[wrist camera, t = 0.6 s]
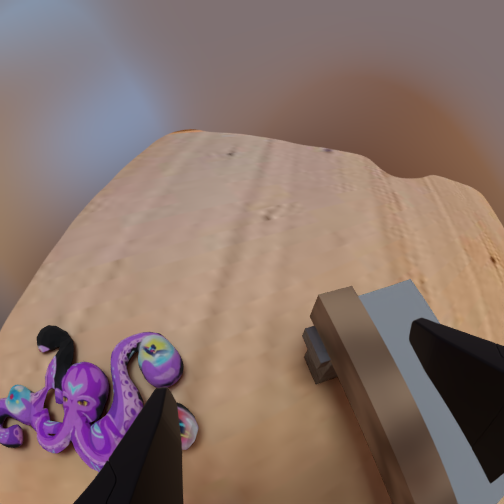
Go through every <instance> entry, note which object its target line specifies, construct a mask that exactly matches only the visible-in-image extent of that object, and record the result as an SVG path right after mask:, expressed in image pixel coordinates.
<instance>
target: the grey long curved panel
mask: <svg viewBox="0 0 504 504" xmlns="http://www.w3.org/2000/svg"><path fill="white" fill-rule="evenodd" d="M358 297H359V299H360V300H361V302H362V304H363V305H364V307H365V309H366V311H367V312H368V314H369V316H370V317H371V319H372V321H373V323H374V324H375V326H376V328H377V330H378V332H379V333H380V335H381V337H382V339H383V341H384V342H385V344H386V346H387V348H388V350H389V352H390V353H391V355H392V357H393V359H394V361H395V363H396V365H397V367H398V369H399V370H400V372H401V374H402V376H403V378H404V380H405V382H406V384H407V386H408V388H409V390H410V392H411V394H412V396H413V398H414V400H415V402H416V404H417V407H418V409H419V411H420V413H421V415H422V417H423V419H424V421H425V424H426V426H427V428H428V430H429V432H430V435H431V437H432V439H433V441H434V444H435V446H436V448H437V451H438V453H439V455H440V458H441V460H442V463H443V465H444V468H445V470H446V473H447V475H448V478H449V480H450V483H451V486H452V488H453V491H454V494H455V497H456V499H457V502H458V504H497V503H498V502H499V501H500V499H501V498H502V497H503V496H504V474H503V475H501V476H500V477H499V478H498V479H496V480H495V481H494V482H493V483H491V484H490V482H489V481H488V479H487V477H486V475H485V473H484V471H483V469H482V467H481V465H480V463H479V461H478V459H477V458H476V456H475V454H474V452H473V450H472V447H471V446H470V444H469V443H468V441H467V439H466V437H465V436H464V434H463V432H462V430H461V429H460V427H459V425H458V424H457V422H456V420H455V418H454V417H453V415H452V413H451V412H450V410H449V409H448V407H447V405H446V404H445V402H444V400H443V399H442V397H441V396H440V394H439V393H438V391H437V389H436V388H435V386H434V385H433V383H432V382H431V380H430V379H429V377H428V375H427V374H426V372H425V370H424V369H423V367H422V365H421V363H420V361H419V359H418V357H417V355H416V353H415V351H414V350H413V348H412V346H411V344H410V342H409V334H410V329H411V324H412V322H413V321H414V320H416V319H418V318H425V319H428V320H431V321H433V322H436V323H439V321H438V320H437V318H436V316H435V315H434V313H433V312H432V310H431V309H430V307H429V306H428V304H427V302H426V301H425V299H424V298H423V296H422V295H421V294H420V292H419V291H418V289H417V288H416V286H415V285H414V283H413V282H412V280H411V279H409V280H406V281H403V282H401V283H398V284H395V285H392V286H389V287H385V288H382V289H379V290H376V291H373V292H370V293H367V294H363V295H360V296H358ZM439 324H440V323H439Z"/></svg>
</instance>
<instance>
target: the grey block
mask: <svg viewBox="0 0 504 504" xmlns="http://www.w3.org/2000/svg"><path fill="white" fill-rule="evenodd" d="M302 337H303V339H304V341H305V344H306V346H307V348H308V350H307V352H306V354H305V356H304V358H305V360H306V362H307V365H308V367H309V369H310V372H311V374H312V377H313V379H314V381H315V384H319V383H321V382H324V381H327V380H330V379H332V378H335V377H338V376H337V374H336V371H335V369H334V367H333V365H332V363H331V361H330V360H331V359H330V357H329V355H328V353H327V350H326V348H325V346H324V344H323V342H322V340H321V338H320V335H319V333H318V331H317V329H316V327H315V326H312V327H309V328H305V330H304V333H303V335H302Z"/></svg>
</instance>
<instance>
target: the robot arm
mask: <svg viewBox="0 0 504 504" xmlns="http://www.w3.org/2000/svg"><path fill="white" fill-rule="evenodd" d="M409 342H410V344H411V346H412V348H413V350H414V351H415V353H416V355H417V357H418V359H419V361H420V363H421V365H422V367H423V369H424V370H425V372H426V374H427V375H428V377H429V379H430V380H431V382H432V383H433V385H434V386H435V388H436V389H437V391H438V393H439V394H440V396H441V397H442V399H443V400H444V402H445V404H446V405H447V407H448V409H449V410H450V412H451V413H452V415H453V417H454V418H455V420H456V422H457V424H458V425H459V427H460V429H461V430H462V432H463V434H464V436H465V437H466V439H467V441H468V443H469V444H470V446H471V447H472V450H473V452H474V454H475V456H476V458H477V459H478V461H479V463H480V465H481V467H482V469H483V471H484V473H485V475H486V477H487V479H488V481H489V482H490V484H491V483H493V482H494V481H495V480H496V479H498V478H499V477H500V476H501V475H503V474H504V346H502V345H499V344H495V343H493V342H491V341H488V340H485V339H482V338H479V337H476V336H473V335H470V334H468V333H465V332H462V331H459V330H456V329H453V328H450V327H448V326H445V325H442V324H439V323H436V322H433V321H431V320H428V319H425V318H418V319H416V320H414V321H413V322H412V324H411V329H410V334H409ZM108 460H109V461H106V463H105V464H104V466H103V467H102V469H101V470H100V472H99V473H98V474H97V476H96V477H95V479H94V480H93V481H92V482H91V483H90V485H89V486H88V487H87V488H86V490H85V491H84V492H83V493H82V494H81V495H80V496H79V498H78V499H77V500H76V501H75V502H74V503H73V504H183V478H182V441H181V433H180V425H179V416H178V407H177V403H176V400H175V399H174V397H173V395H172V394H171V392H170V390H169V389H168V388H167V387H162V388H156V389H155V390H154V392H153V393H152V395H151V396H150V398H149V399H148V401H147V402H146V404H145V405H144V407H143V408H142V410H141V411H140V412H139V414H138V415H137V417H136V418H135V420H134V421H133V423H132V424H131V426H130V427H129V429H128V430H127V432H126V433H125V435H124V436H123V438H122V439H121V441H120V442H119V444H118V445H117V447H116V448H115V450H114V451H113V453H112V454H111V456H110V457H109V459H108Z"/></svg>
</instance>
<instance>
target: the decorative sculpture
mask: <svg viewBox="0 0 504 504" xmlns="http://www.w3.org/2000/svg"><path fill="white" fill-rule="evenodd" d="M37 345H38V348H39V351H40V352H45V351H47V350H55V349H56V348H57V347H60V348H59V351H58V352H57V354H56V355H55V356H54V358H53V359H52V361H51V363H50V364H49V366H48V368H47V372H46V376H45V387H44V388H43V389H41V390H40V391H38V392H36V393H33V392H32V391H30V390H29V389H27V388H26V387H24V386H22V385H15V386H13V387H12V388H11V390H10V392H9V395H8V397H7V398H2V399H0V444H2V445H4V446H6V447H11V448H17V447H19V446H21V445H22V443H23V432H22V428H21V427H20V426H19V425H13V426H11V427H9V428H3V422H4V420H5V419H6V418H7V417H13V418H14V419H16V420H18V421H20V422H22V423H23V424H26V425H29V426H30V425H31V426H32V427H33V428H34V429H35V431H36V432H37V439H38V442H39V444H40V445H41V446H42V447H43V448H44V449H45V450H47V451H49V452H52V453H59V452H61V451H62V450H64V449H65V448H66V447H67V446H68V445H69V443H70V441H72V443H73V445H74V448H75V451H76V452H77V453H78V455H79V456H80V457H81V458H82V460H83V461H84V462H85V463H86V464H87V465H88V466H89V467H90V468H92V469H94V470H96V471H98V472H100V470H101V469H102V467H103V466H104V464H105V463H106V461H109V460H108V459H109V457H110V456H111V454H112V453H113V451H114V450H115V448H116V447H117V445H118V444H119V442H120V441H121V439H122V438H123V436H124V435H125V433H126V432H127V430H128V429H129V427H130V426H131V424H132V423H133V421H134V420H135V418H136V417H137V415H138V414H139V412H140V411H141V410H142V408H143V400H142V398H141V396H140V394H139V391H138V389H137V388H136V386H135V385H134V383H133V382H132V381H131V379H130V378H129V376H128V372H127V368H126V367H127V364H128V361H129V360H130V358H131V357H132V356H133V355H134V353H136V352H138V353H139V355H138V362H139V368H140V370H141V371H142V373H143V375H144V377H145V379H146V380H147V381H148V382H149V383H150V384H152V385H153V386H155V387H157V388H162V387H170V386H171V385H173V384H175V383H176V382H177V381H178V380H179V378H180V377H181V375H182V373H183V361H182V359H181V356H180V355H179V353H178V351H177V350H176V349H175V348H174V347H173V345H172V344H171V343H170V342H169V341H168V340H167V339H166V338H165V337H164V336H162V335H161V334H159V333H153V332H143V333H139V334H135V335H132V336H130V337H127V338H125V339H124V340H122V341H121V342H119V343H118V344H117V345H116V347H115V348H114V350H113V352H112V355H111V374H112V381H113V390H114V398H113V403H112V406H111V408H110V410H109V412H108V413H107V414H106V416H104V417H103V418H102V419H100V420H99V421H97V422H95V423H94V424H93V425H92V426H91V422H92V421H95V420H97V419H98V418H100V416H101V414H102V412H103V409H104V406H105V403H106V401H107V397H108V392H109V383H108V379H107V377H106V375H105V374H104V372H103V371H102V370H101V369H100V368H99V367H97V366H96V365H94V364H92V363H89V362H80V363H76V364H74V365H72V366H71V363H72V360H73V352H74V345H73V340H72V339H71V338H70V336H69V334H68V332H66V331H64V330H62V329H61V328H59V327H57V326H50V325H48V326H46V327H44V328H43V329H41V330H40V332H39V334H38V336H37ZM70 366H71V367H70ZM51 388H53V389H55V399H56V403H58V404H63V408H64V413H65V414H64V419H63V423H61V422H54V421H50V416H49V412H48V409H47V408H44V409H43V406H44V401H45V398H46V395H47V392H48V390H50V389H51ZM177 407H178V416H179V425H180V433H181V441H182V450H187V449H188V448H189V447H190V446H191V445H192V443H193V442H194V441H195V439H196V435H197V432H198V425H197V423H196V420H195V417H194V415H193V414H192V413H191V412H190V411H189V410H188V409H187V408H186V407H185V406H183V405H182V404H180V403H177ZM48 433H49V434H56V435H55V436H50V435H48Z"/></svg>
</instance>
